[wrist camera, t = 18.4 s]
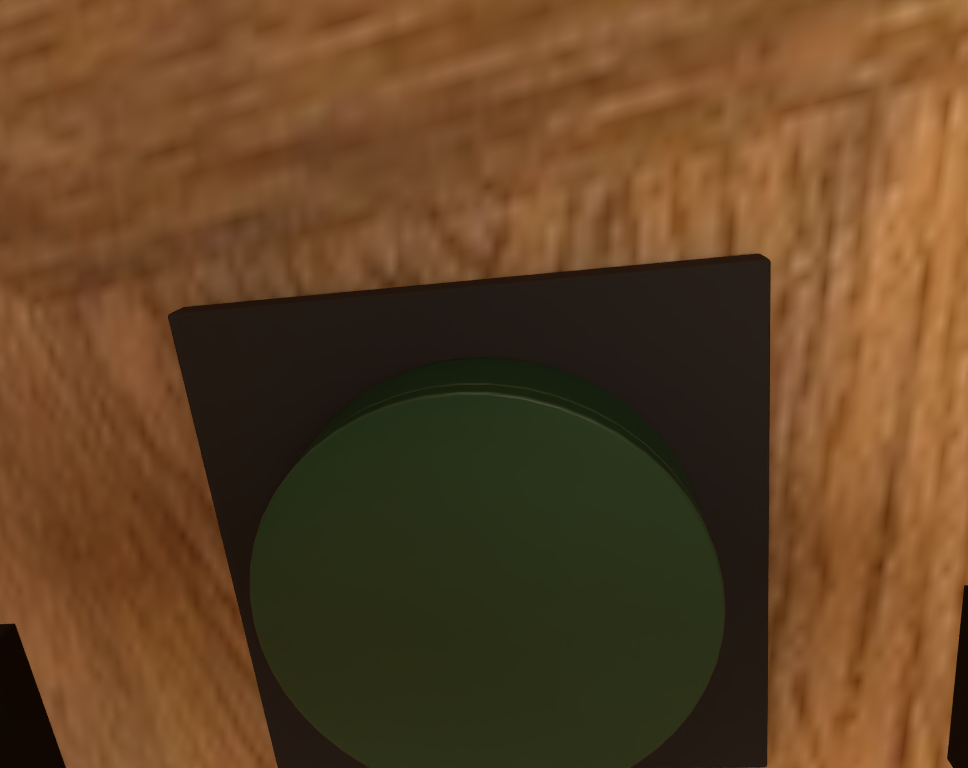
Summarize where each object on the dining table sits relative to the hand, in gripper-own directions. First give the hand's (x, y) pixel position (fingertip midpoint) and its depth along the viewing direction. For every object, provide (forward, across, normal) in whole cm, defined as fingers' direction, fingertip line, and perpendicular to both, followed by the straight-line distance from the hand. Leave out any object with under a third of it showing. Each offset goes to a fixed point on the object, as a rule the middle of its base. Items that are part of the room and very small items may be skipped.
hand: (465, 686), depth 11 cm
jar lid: (+2, 0, 0) cm, 2 cm away
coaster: (+4, 0, 0) cm, 4 cm away
